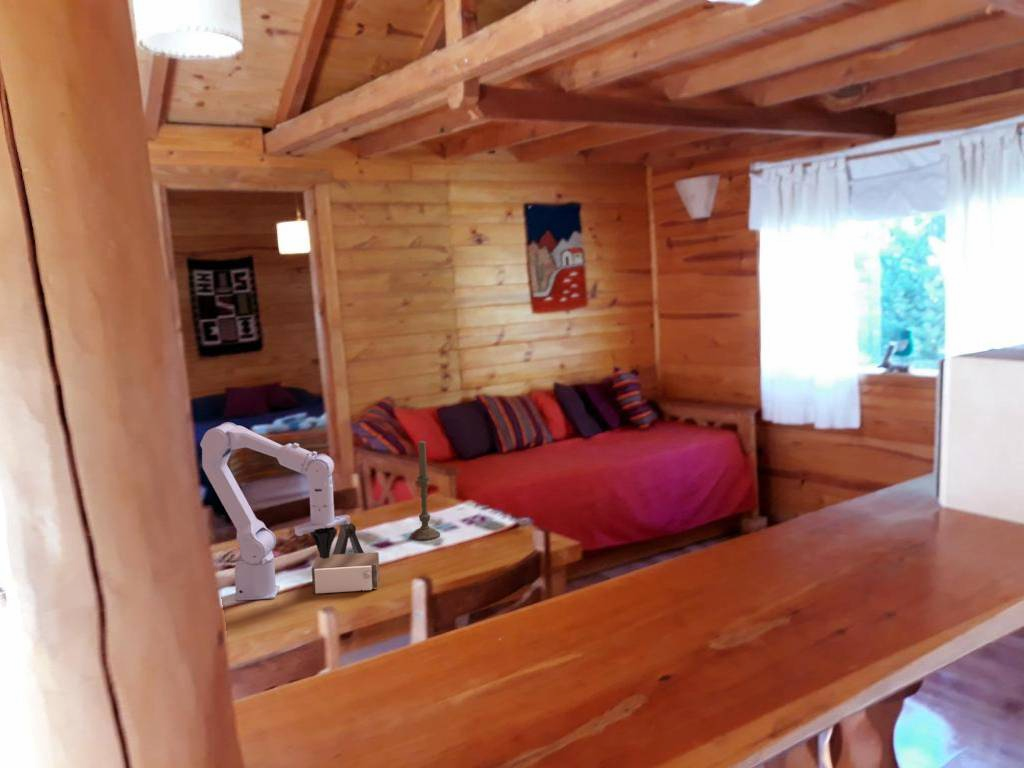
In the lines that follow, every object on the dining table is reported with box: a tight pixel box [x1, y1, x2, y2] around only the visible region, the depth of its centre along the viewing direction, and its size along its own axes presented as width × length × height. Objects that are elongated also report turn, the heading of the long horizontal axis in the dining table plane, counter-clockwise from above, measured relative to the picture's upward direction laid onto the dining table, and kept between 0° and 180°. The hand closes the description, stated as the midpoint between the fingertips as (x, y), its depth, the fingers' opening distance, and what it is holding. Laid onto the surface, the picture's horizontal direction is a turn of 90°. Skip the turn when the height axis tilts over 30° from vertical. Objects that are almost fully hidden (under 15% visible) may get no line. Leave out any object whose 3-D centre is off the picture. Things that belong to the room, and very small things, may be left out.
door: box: [314, 565, 373, 594], centre depth 210 cm, size 14×2×6 cm, turn 97°
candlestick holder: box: [410, 440, 441, 542], centre depth 255 cm, size 9×9×30 cm
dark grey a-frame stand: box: [332, 521, 365, 555], centre depth 232 cm, size 9×6×12 cm, turn 116°
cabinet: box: [311, 551, 381, 594], centre depth 216 cm, size 16×10×6 cm, turn 96°
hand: (324, 557), depth 209 cm, fingers closed
